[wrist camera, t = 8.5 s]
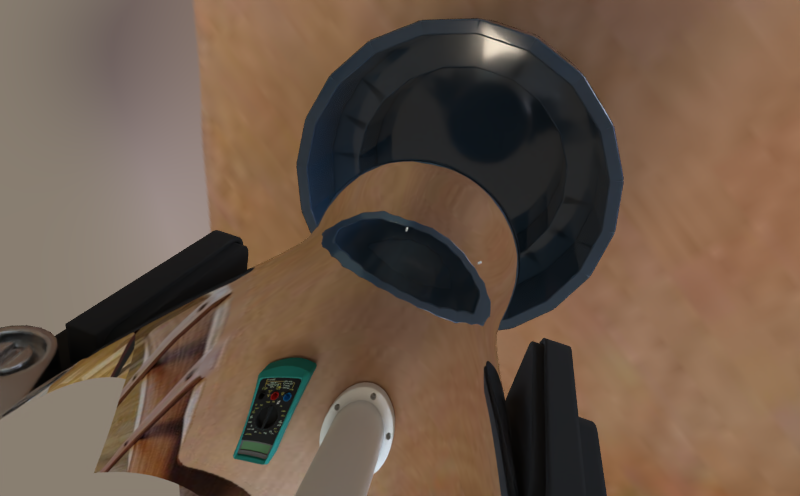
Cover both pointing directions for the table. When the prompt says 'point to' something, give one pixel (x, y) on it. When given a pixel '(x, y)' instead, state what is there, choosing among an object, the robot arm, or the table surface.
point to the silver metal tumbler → (304, 366)
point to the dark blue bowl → (478, 140)
